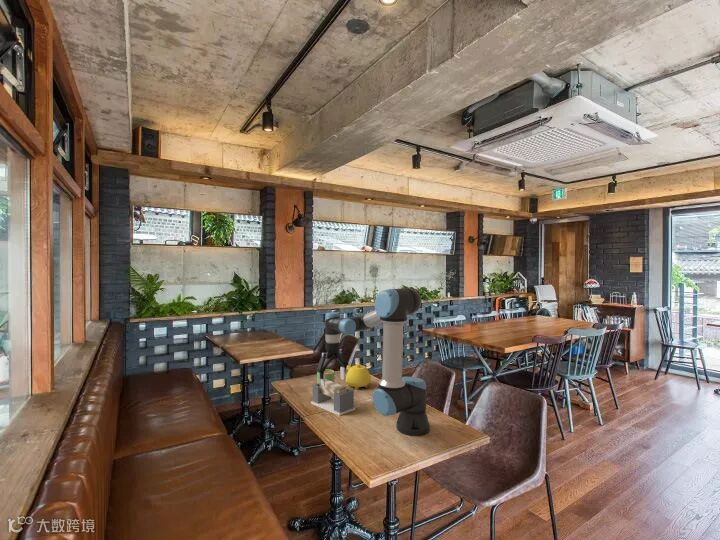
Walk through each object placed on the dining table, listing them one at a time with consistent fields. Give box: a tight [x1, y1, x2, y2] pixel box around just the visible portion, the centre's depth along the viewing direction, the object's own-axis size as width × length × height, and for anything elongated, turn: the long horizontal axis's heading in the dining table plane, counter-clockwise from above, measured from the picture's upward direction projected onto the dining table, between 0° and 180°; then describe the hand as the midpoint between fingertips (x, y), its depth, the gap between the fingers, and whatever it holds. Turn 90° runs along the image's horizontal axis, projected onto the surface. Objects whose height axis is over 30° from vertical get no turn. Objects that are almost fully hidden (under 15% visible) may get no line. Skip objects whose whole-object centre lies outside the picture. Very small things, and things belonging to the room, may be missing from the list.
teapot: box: [345, 363, 372, 391], centre depth 234 cm, size 20×16×14 cm
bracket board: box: [310, 383, 356, 417], centre depth 199 cm, size 23×11×10 cm, turn 45°
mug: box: [316, 368, 335, 384], centre depth 223 cm, size 13×10×12 cm
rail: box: [319, 379, 347, 399], centre depth 199 cm, size 17×4×6 cm, turn 42°
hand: (333, 382), depth 199 cm, fingers open, 13 cm apart
